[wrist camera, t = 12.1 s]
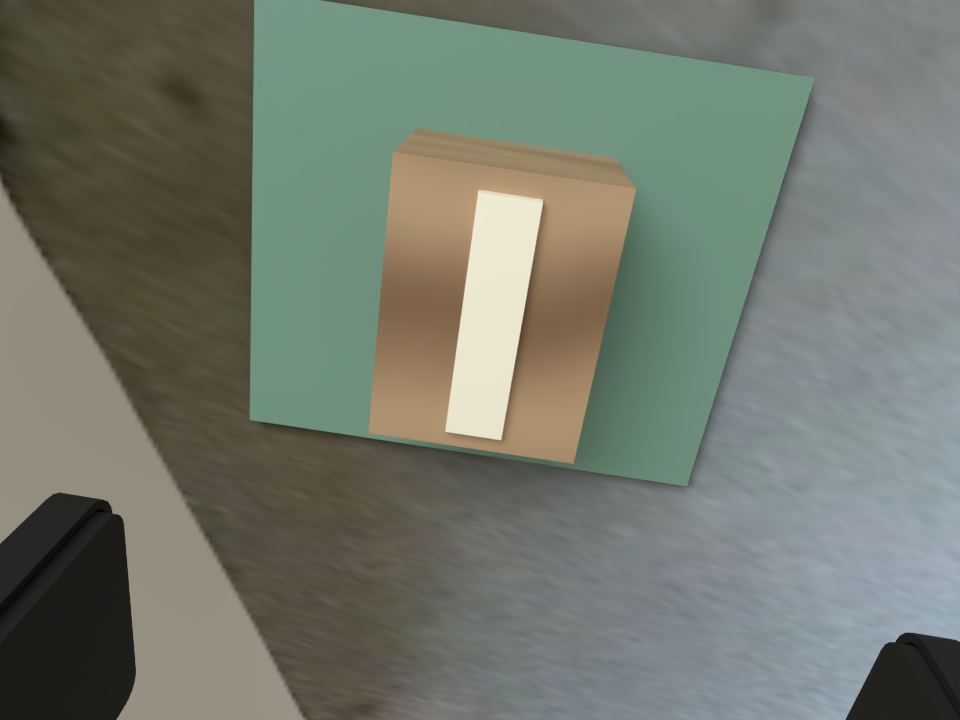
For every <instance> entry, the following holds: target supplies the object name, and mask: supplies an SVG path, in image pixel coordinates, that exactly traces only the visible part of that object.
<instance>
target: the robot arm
mask: <svg viewBox="0 0 960 720" xmlns="http://www.w3.org/2000/svg"><path fill="white" fill-rule="evenodd" d="M135 676H136V667H135V655H134V641H133V629H132V618H131V605H130V593H129V580H128V568H127V557H126V544H125V533H124V523H123V519H122V518H121V516H120V515H117V514H112V509H111V506H110V504H109V503H108V501H105V500H101V499H95V498H89V497H83V496H77V495H71V494H65V493H57V494H53V495H52V496H50V497H49V498H48V499H46V500H45V501H44V502H43V503H42V504H41V505H40V506H39V507H38V508H37V509H36V510H35V511H34V512H33V513H32V514H31V515H30V516H29V517H28V518H27V519H26V520H25V521H24V522H23V523H22V524H20V525H19V526H18V528H16V529H15V530H14V531H13V532H12V533H11V534H10V535H9V536H8V537H7V538H6V539H5V540H4V541H3V542H2V543H1V544H0V720H116V719H117V718H118V716H119V714H120V713H121V711H122V709H123V708H124V706H125V705H126V703H127V701H128V699H129V697H130V694H131V692H132V689H133V685H134V681H135ZM846 720H960V642H959V641H957V640H953V639H947V638H940V637H934V636H928V635H922V634H916V633H904V634H902V635H901V636H899V638H898V639H897V640H896V642H895V643H894V642H889V643H887V644H885V645H884V647H883V648H882V650H881V652H880V653H879V655H878V657H877V659H876V661H875V663H874V665H873V667H872V669H871V671H870V673H869V675H868V677H867V679H866V681H865V683H864V685H863V687H862V689H861V691H860V693H859V694H858V696H857V698H856V700H855V702H854V704H853V706H852V708H851V710H850V712H849V714H848V716H847V718H846Z"/></svg>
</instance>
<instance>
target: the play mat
mask: <svg viewBox="0 0 960 720" xmlns="http://www.w3.org/2000/svg"><path fill="white" fill-rule="evenodd" d="M814 79H815V78H812V77H806V76H800V75H793V74H787V73H780V72H774V71H768V70H761V69H755V68H749V67H742V66H736V65H729V64H723V63H717V62H710V61H704V60H698V59H691V58H685V57H678V56H672V55H666V54H659V53H653V52H646V51H640V50H634V49H627V48H621V47H615V46H608V45H602V44H595V43H589V42H583V41H576V40H570V39H564V38H557V37H551V36H544V35H538V34H532V33H525V32H519V31H512V30H506V29H500V28H493V27H487V26H481V25H474V24H468V23H461V22H455V21H449V20H442V19H436V18H430V17H423V16H417V15H410V14H404V13H398V12H391V11H385V10H379V9H372V8H366V7H359V6H353V5H347V4H340V3H334V2H327V1H321V0H254V91H253V182H252V273H251V365H250V420H254V421H261V422H267V423H274V424H280V425H287V426H293V427H300V428H307V429H313V430H320V431H326V432H333V433H339V434H346V435H353V436H359V437H366V438H372V439H379V440H385V441H392V442H398V443H405V444H412V445H418V446H425V447H431V448H438V449H444V450H451V451H458V452H464V453H471V454H477V455H484V456H490V457H497V458H503V459H510V460H517V461H523V462H530V463H536V464H543V465H549V466H556V467H563V468H569V469H576V470H582V471H589V472H595V473H602V474H608V475H615V476H622V477H628V478H635V479H641V480H648V481H654V482H661V483H667V484H674V485H681V486H687V485H688V481H689V478H690V475H691V472H692V469H693V465H694V462H695V459H696V456H697V453H698V449H699V446H700V443H701V440H702V437H703V434H704V430H705V427H706V424H707V421H708V418H709V414H710V411H711V408H712V405H713V402H714V398H715V395H716V392H717V389H718V386H719V383H720V379H721V376H722V373H723V370H724V367H725V363H726V360H727V357H728V354H729V351H730V347H731V344H732V341H733V338H734V335H735V331H736V328H737V325H738V322H739V319H740V316H741V312H742V309H743V306H744V303H745V300H746V296H747V293H748V290H749V287H750V284H751V280H752V277H753V274H754V271H755V268H756V264H757V261H758V258H759V255H760V252H761V249H762V245H763V242H764V239H765V236H766V233H767V229H768V226H769V223H770V220H771V217H772V213H773V210H774V207H775V204H776V201H777V198H778V194H779V191H780V188H781V185H782V182H783V178H784V175H785V172H786V169H787V166H788V162H789V159H790V156H791V153H792V150H793V146H794V143H795V140H796V137H797V134H798V131H799V127H800V124H801V121H802V118H803V115H804V111H805V108H806V105H807V102H808V99H809V95H810V92H811V89H812V86H813V83H814ZM417 128H421V129H427V130H434V131H440V132H447V133H453V134H460V135H466V136H473V137H479V138H486V139H493V140H499V141H506V142H512V143H519V144H525V145H532V146H538V147H545V148H551V149H558V150H565V151H571V152H578V153H584V154H591V155H597V156H604V157H610V158H616V159H617V161H618V162H619V164H620V165H621V167H622V168H623V170H624V171H625V173H626V174H627V176H628V177H629V179H630V180H631V182H632V183H633V184H634V186H635V187H636V193H635V197H634V201H633V206H632V210H631V215H630V219H629V223H628V228H627V232H626V236H625V241H624V245H623V250H622V254H621V258H620V263H619V267H618V271H617V276H616V280H615V285H614V289H613V293H612V298H611V302H610V307H609V311H608V315H607V320H606V324H605V328H604V333H603V337H602V342H601V346H600V350H599V355H598V359H597V363H596V368H595V372H594V377H593V381H592V385H591V390H590V394H589V398H588V403H587V407H586V412H585V416H584V420H583V425H582V429H581V433H580V438H579V442H578V447H577V451H576V455H575V460H574V464H571V463H564V462H558V461H551V460H544V459H538V458H531V457H524V456H518V455H511V454H504V453H498V452H491V451H484V450H478V449H471V448H464V447H458V446H451V445H444V444H438V443H431V442H424V441H418V440H411V439H404V438H398V437H391V436H385V435H378V434H371V433H368V432H369V420H370V409H371V397H372V386H373V374H374V363H375V351H376V340H377V328H378V317H379V305H380V294H381V282H382V271H383V259H384V248H385V236H386V225H387V213H388V202H389V190H390V179H391V167H392V156H393V151H394V150H395V149H396V148H397V147H398V146H399V145H400V144H401V143H402V142H403V141H405V140H406V139H407V138H408V137H409V136H410V135H411V134H412V133H413V132H414V131H415V130H416V129H417Z"/></svg>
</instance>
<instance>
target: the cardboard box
mask: <svg viewBox="0 0 960 720" xmlns="http://www.w3.org/2000/svg"><path fill="white" fill-rule="evenodd" d="M635 193H636V187H635V186H634V184H633V183H632V182H631V180H630V179H629V177H628V176H627V174H626V173H625V171H624V170H623V168H622V167H621V165H620V164H619V162H618V161H617V159H616V158H610V157H604V156H597V155H591V154H584V153H578V152H571V151H565V150H558V149H551V148H545V147H538V146H532V145H525V144H519V143H512V142H506V141H499V140H493V139H486V138H479V137H473V136H466V135H460V134H453V133H447V132H440V131H434V130H427V129H421V128H417V129H416V130H415V131H414V132H413V133H412V134H411V135H410V136H409V137H408V138H407V139H406V140H405V141H403V142H402V143H401V144H400V145H399V146H398V147H397V148H396V149H395V150H394V151H393V156H392V167H391V179H390V190H389V202H388V213H387V225H386V236H385V248H384V259H383V271H382V282H381V294H380V305H379V317H378V328H377V340H376V351H375V363H374V374H373V386H372V397H371V409H370V420H369V432H368V433H371V434H378V435H385V436H391V437H398V438H404V439H411V440H418V441H424V442H431V443H438V444H444V445H451V446H458V447H464V448H471V449H478V450H484V451H491V452H498V453H504V454H511V455H518V456H524V457H531V458H538V459H544V460H551V461H558V462H564V463H571V464H574V460H575V455H576V451H577V447H578V442H579V438H580V433H581V429H582V425H583V420H584V416H585V412H586V407H587V403H588V398H589V394H590V390H591V385H592V381H593V377H594V372H595V368H596V363H597V359H598V355H599V350H600V346H601V342H602V337H603V333H604V328H605V324H606V320H607V315H608V311H609V307H610V302H611V298H612V293H613V289H614V285H615V280H616V276H617V271H618V267H619V263H620V258H621V254H622V250H623V245H624V241H625V236H626V232H627V228H628V223H629V219H630V215H631V210H632V206H633V201H634V197H635Z"/></svg>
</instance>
